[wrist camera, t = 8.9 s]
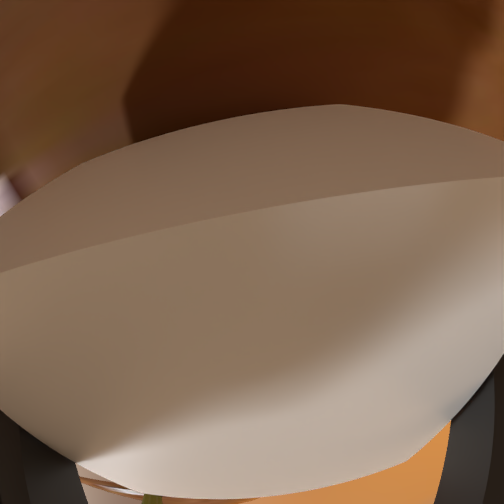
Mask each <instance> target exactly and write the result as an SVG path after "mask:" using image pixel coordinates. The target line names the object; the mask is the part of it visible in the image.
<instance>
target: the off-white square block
mask: <svg viewBox="0 0 504 504" xmlns="http://www.w3.org/2000/svg"><path fill="white" fill-rule="evenodd" d="M503 354H504V141H501V140H499V139H496V138H493V137H490V136H488V135H485V134H482V133H479V132H476V131H473V130H469V129H466V128H463V127H459V126H456V125H452V124H449V123H445V122H441V121H437V120H433V119H429V118H425V117H420V116H416V115H411V114H406V113H400V112H395V111H389V110H383V109H376V108H369V107H362V106H353V105H344V104H334V105H320V106H309V107H299V108H291V109H283V110H275V111H268V112H262V113H256V114H250V115H244V116H239V117H234V118H229V119H224V120H219V121H214V122H210V123H206V124H201V125H197V126H193V127H189V128H185V129H181V130H178V131H174V132H171V133H167V134H164V135H160V136H157V137H153V138H150V139H147V140H144V141H141V142H138V143H135V144H132V145H129V146H126V147H123V148H120V149H117V150H115V151H112V152H109V153H107V154H104V155H101V156H99V157H96V158H94V159H91V160H89V161H86V162H84V163H82V164H80V165H78V166H76V167H75V168H73V169H71V170H69V171H68V172H66V173H64V174H63V175H61V176H59V177H58V178H56V179H54V180H53V181H51V182H49V183H48V184H46V185H45V186H43V187H42V188H40V189H38V190H37V191H35V192H34V193H32V194H31V195H29V196H28V197H27V198H25V199H24V200H22V201H21V202H19V203H18V204H17V205H15V206H14V207H13V208H11V209H10V210H8V211H7V212H6V213H5V214H3V215H2V216H1V217H0V410H1V411H2V412H3V413H5V414H6V415H7V416H8V417H9V418H11V419H12V420H13V421H14V422H16V423H17V424H18V425H19V426H21V427H22V428H23V429H25V430H26V431H27V432H29V433H30V434H31V435H33V436H34V437H35V438H37V439H38V440H40V441H41V442H43V443H44V444H46V445H47V446H49V447H50V448H52V449H53V450H55V451H56V452H58V453H60V454H61V455H63V456H65V457H66V458H68V459H70V460H71V461H73V462H75V463H77V464H79V465H80V466H82V467H84V468H86V469H88V470H90V471H92V472H94V473H96V474H98V475H100V476H102V477H104V478H106V479H109V480H111V481H113V482H115V483H117V484H120V485H122V486H124V487H127V488H129V489H132V490H134V491H137V492H140V493H145V494H152V495H159V496H168V497H179V498H195V499H240V498H256V497H267V496H276V495H284V494H291V493H297V492H303V491H309V490H314V489H319V488H323V487H327V486H332V485H336V484H340V483H343V482H347V481H351V480H354V479H358V478H361V477H364V476H368V475H371V474H374V473H376V472H379V471H382V470H385V469H388V468H390V467H393V466H395V465H398V464H400V463H403V462H405V461H407V460H408V459H409V458H411V457H412V456H413V455H414V454H415V453H417V452H418V451H419V450H420V449H421V448H422V447H423V446H425V445H426V444H427V443H428V442H429V441H430V440H431V439H432V438H433V437H434V436H435V435H436V434H437V433H438V432H440V431H441V430H442V428H443V427H445V425H446V424H448V423H449V422H450V420H451V419H452V418H453V417H454V416H455V415H456V414H457V413H458V412H459V411H460V410H461V409H462V407H463V406H464V405H465V404H466V403H467V402H468V401H469V399H470V398H471V397H472V396H473V395H474V393H475V392H476V391H477V390H478V388H479V387H480V386H481V385H482V383H483V382H484V381H485V379H486V378H487V377H488V375H489V374H490V373H491V371H492V370H493V369H494V367H495V366H496V364H497V363H498V361H499V360H500V358H501V357H502V355H503Z"/></svg>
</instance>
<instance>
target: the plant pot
mask: <svg viewBox="0 0 504 504" xmlns="http://www.w3.org/2000/svg"><path fill="white" fill-rule="evenodd" d="M142 504H163V503H162V497H160V496H158V495H152V494H144V497H143V501H142Z"/></svg>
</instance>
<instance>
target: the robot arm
mask: <svg viewBox="0 0 504 504" xmlns="http://www.w3.org/2000/svg"><path fill="white" fill-rule="evenodd" d="M0 504H88V502H87V499H86V496H85V493H84V490H83V487H82V485H81V481H80V478H79V475H78V471H77V468H76V465H75V462H73V461H71V460H70V459H68V458H66V457H65V456H63V455H61V454H60V453H58V452H56V451H55V450H53V449H52V448H50V447H49V446H47V445H46V444H44V443H43V442H41V441H40V440H38V439H37V438H35V437H34V436H33V435H31V434H30V433H29V432H27V431H26V430H25V429H23V428H22V427H21V426H19V425H18V424H17V423H16V422H14V421H13V420H12V419H11V418H9V417H8V416H7V415H6V414H5V413H3V412H2V411H1V410H0ZM434 504H504V354H503V355H502V357H501V358H500V360H499V361H498V363H497V364H496V366H495V367H494V369H493V370H492V371H491V373H490V374H489V375H488V377H487V378H486V379H485V381H484V382H483V383H482V385H481V386H480V387H479V388H478V390H477V391H476V392H475V393H474V395H473V396H472V397H471V398H470V399H469V401H468V402H467V403H466V404H465V405H464V406H463V407H462V409H461V410H460V411H459V412H458V413H457V414H456V415H455V416H454V417H453V418H452V419H451V427H450V434H449V440H448V447H447V452H446V457H445V462H444V467H443V472H442V476H441V480H440V484H439V487H438V491H437V495H436V498H435V502H434Z"/></svg>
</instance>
